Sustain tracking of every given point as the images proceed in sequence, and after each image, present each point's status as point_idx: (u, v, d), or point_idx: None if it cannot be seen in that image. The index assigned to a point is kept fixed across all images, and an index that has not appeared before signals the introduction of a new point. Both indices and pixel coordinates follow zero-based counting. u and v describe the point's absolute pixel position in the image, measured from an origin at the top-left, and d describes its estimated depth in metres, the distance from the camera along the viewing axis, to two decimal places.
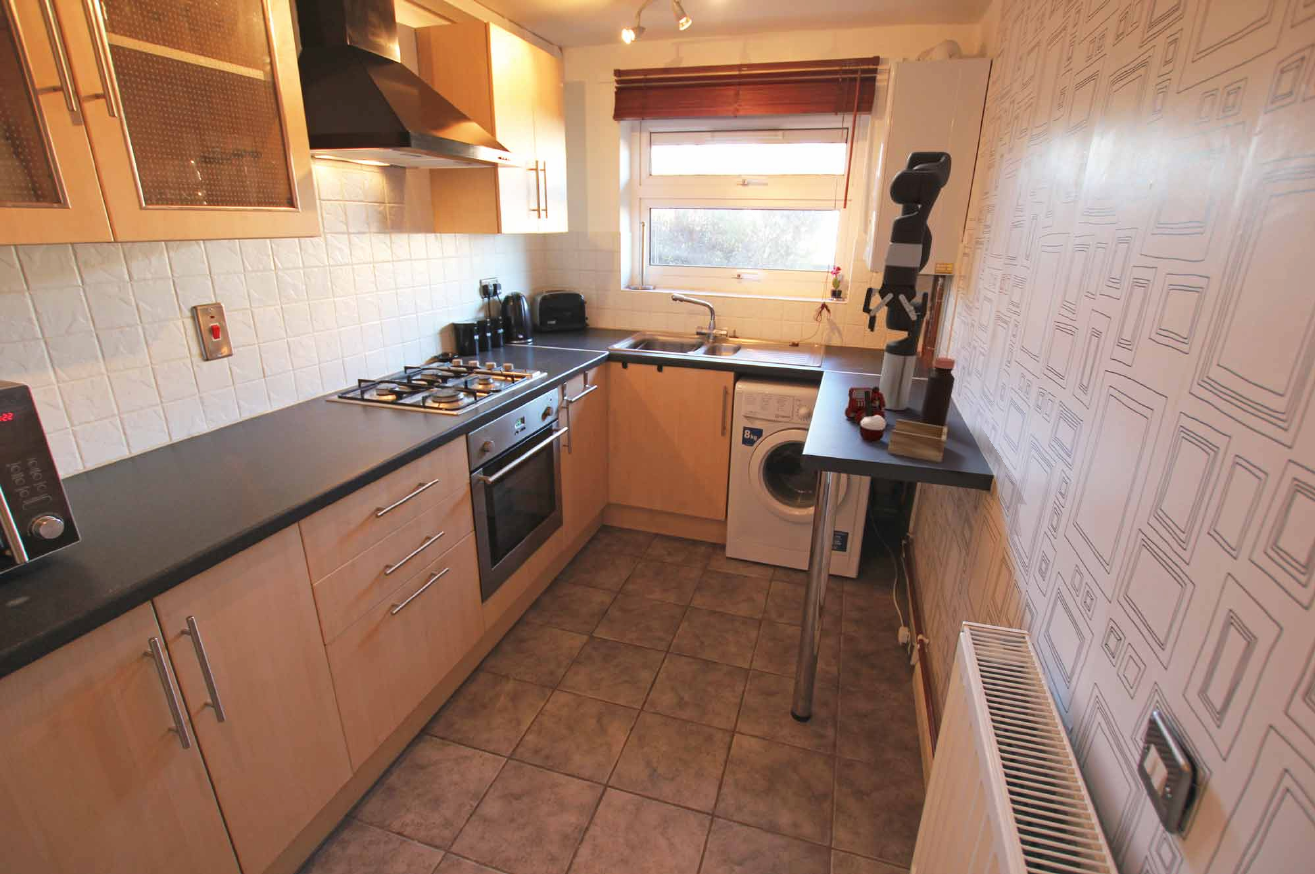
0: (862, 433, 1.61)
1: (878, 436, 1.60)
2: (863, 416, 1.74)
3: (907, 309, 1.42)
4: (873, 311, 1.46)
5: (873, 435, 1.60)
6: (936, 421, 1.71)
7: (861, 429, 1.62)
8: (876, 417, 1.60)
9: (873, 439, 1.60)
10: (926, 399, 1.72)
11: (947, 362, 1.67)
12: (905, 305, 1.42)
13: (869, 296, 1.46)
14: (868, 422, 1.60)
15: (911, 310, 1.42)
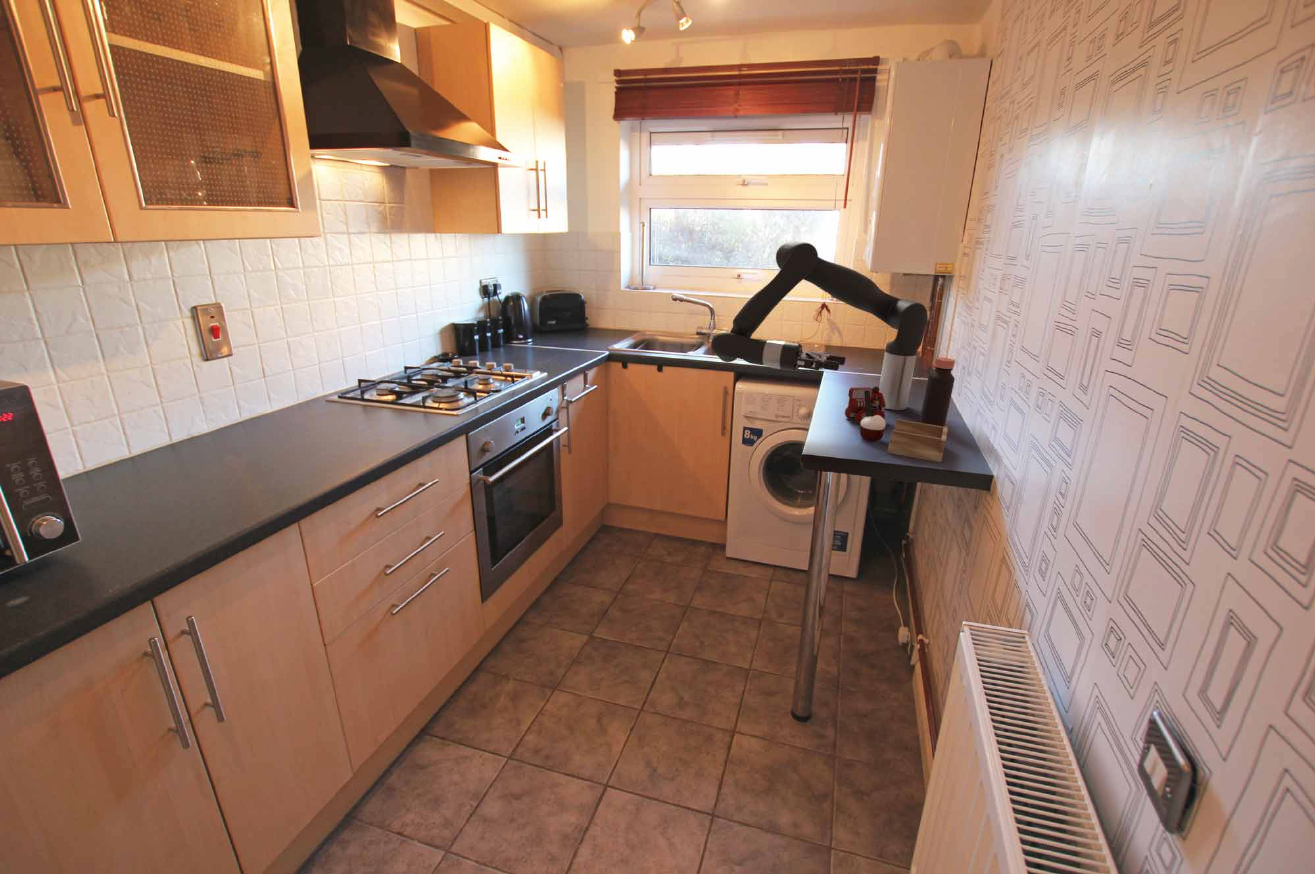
0: (862, 433, 1.61)
1: (878, 436, 1.60)
2: (863, 416, 1.74)
3: None
4: None
5: (873, 435, 1.60)
6: (936, 421, 1.71)
7: (861, 429, 1.62)
8: (876, 417, 1.60)
9: (873, 439, 1.60)
10: (926, 399, 1.72)
11: (947, 362, 1.67)
12: None
13: None
14: (868, 422, 1.60)
15: None
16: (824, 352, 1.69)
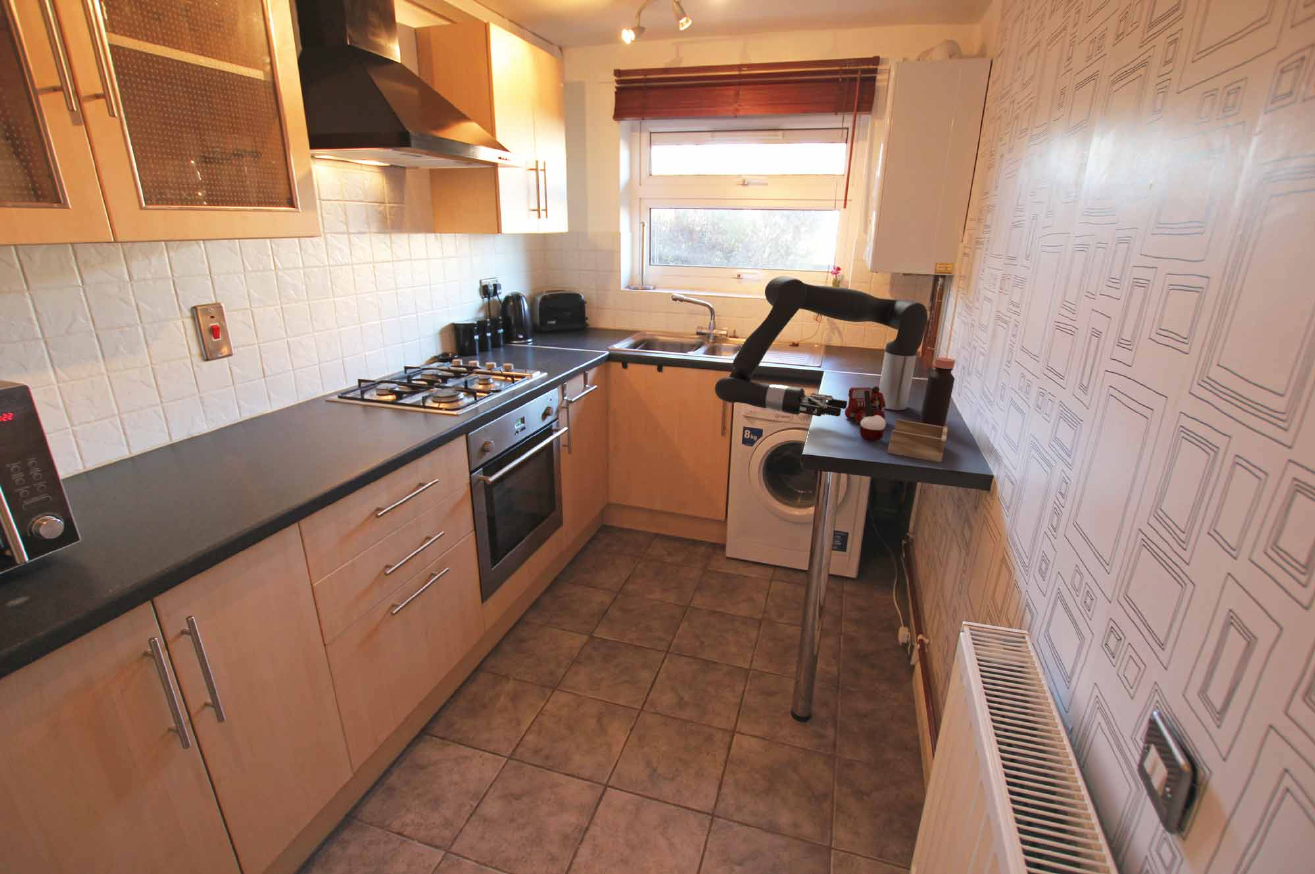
0: (862, 433, 1.61)
1: (878, 436, 1.60)
2: (863, 416, 1.74)
3: None
4: None
5: (873, 435, 1.60)
6: (936, 421, 1.71)
7: (861, 429, 1.62)
8: (876, 417, 1.60)
9: (873, 439, 1.60)
10: (926, 399, 1.72)
11: (947, 362, 1.67)
12: None
13: None
14: (868, 422, 1.60)
15: (817, 413, 1.64)
16: (826, 395, 1.72)
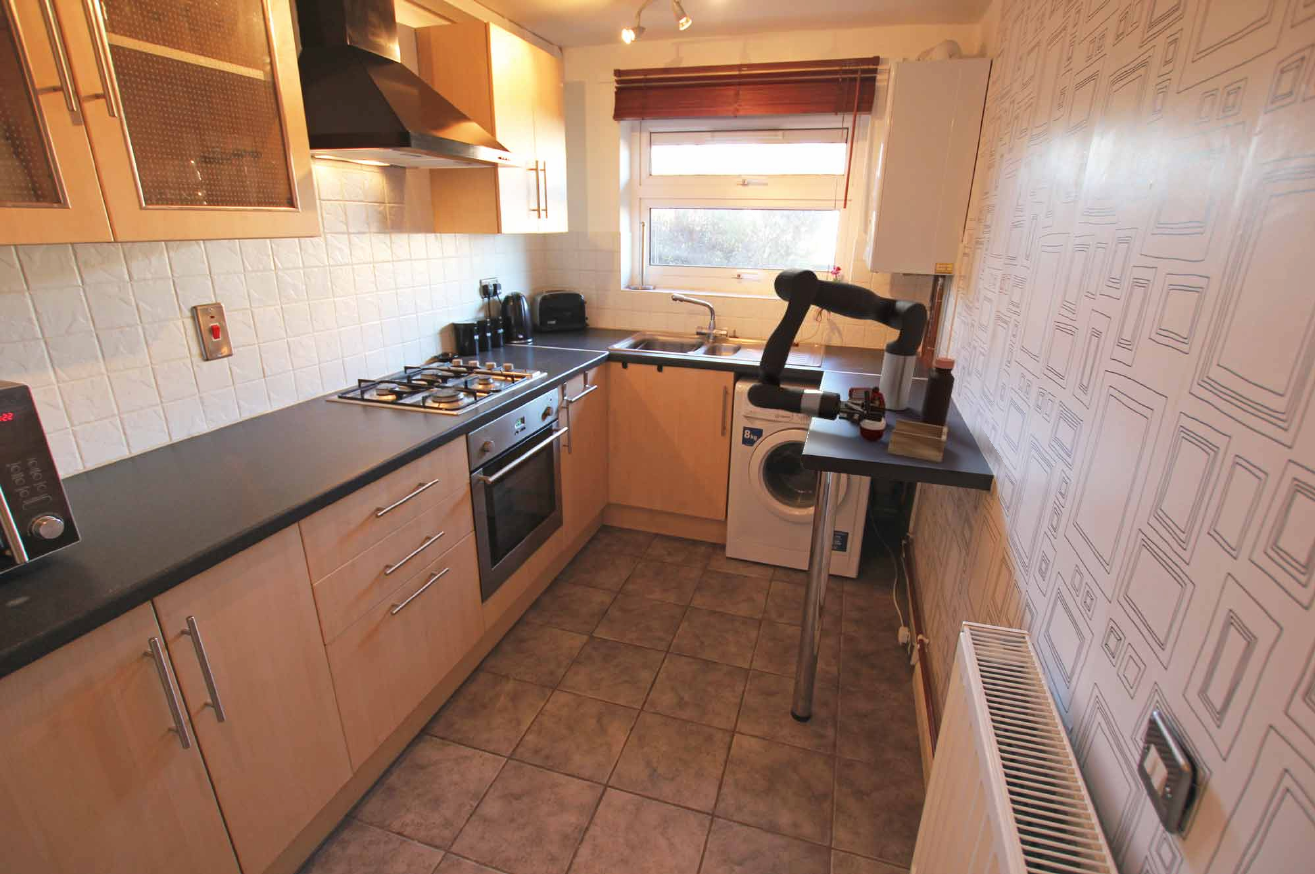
0: (862, 433, 1.61)
1: (878, 436, 1.60)
2: None
3: None
4: None
5: (872, 435, 1.60)
6: (936, 421, 1.71)
7: (861, 429, 1.62)
8: None
9: (873, 439, 1.60)
10: (926, 399, 1.72)
11: (947, 362, 1.67)
12: None
13: None
14: (868, 422, 1.60)
15: (856, 419, 1.60)
16: (863, 401, 1.67)
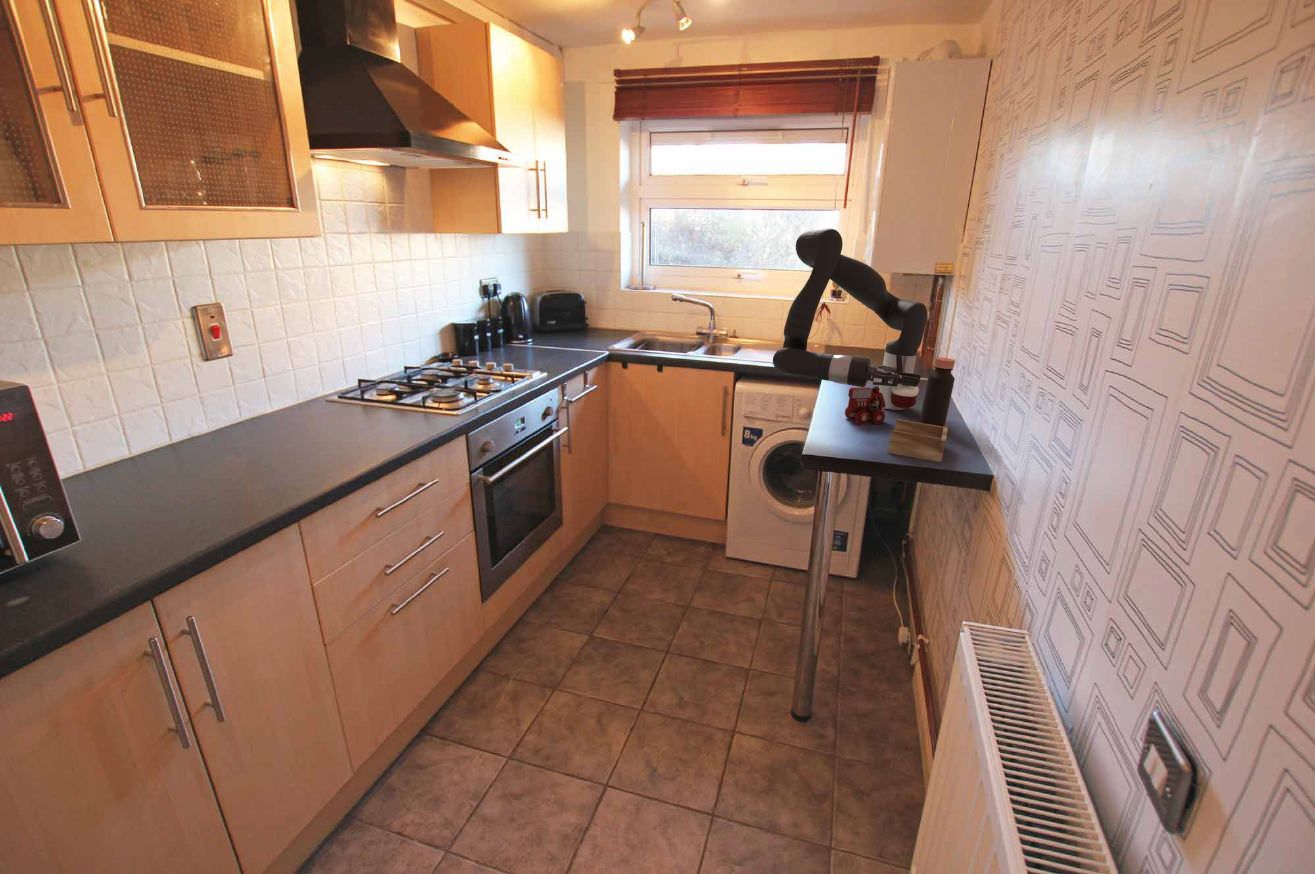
0: (893, 400, 1.54)
1: (910, 403, 1.53)
2: (863, 416, 1.74)
3: None
4: None
5: (905, 402, 1.52)
6: (936, 421, 1.71)
7: (892, 396, 1.54)
8: None
9: (905, 406, 1.53)
10: (926, 399, 1.72)
11: (947, 362, 1.67)
12: None
13: None
14: (900, 388, 1.52)
15: None
16: (896, 369, 1.59)
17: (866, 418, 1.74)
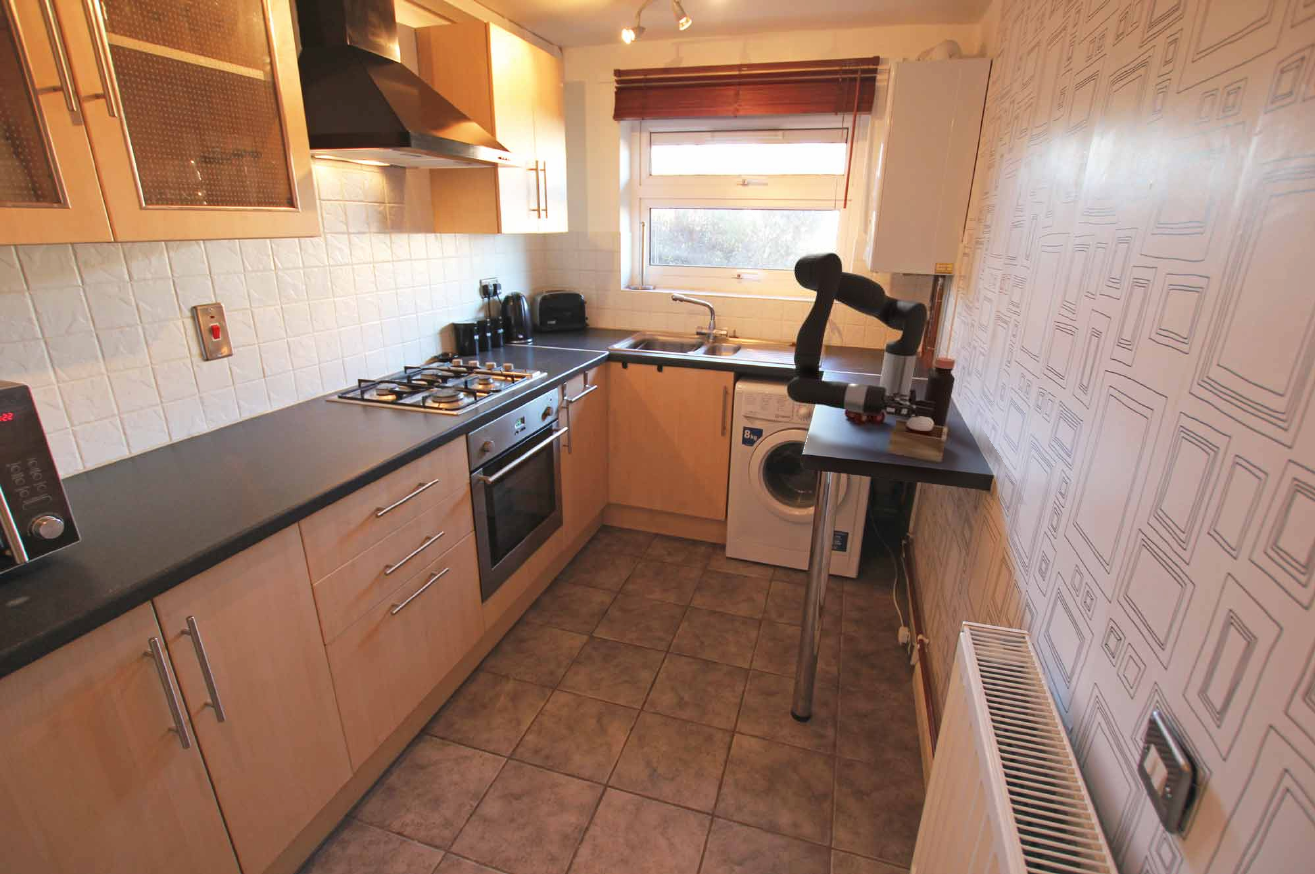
0: None
1: None
2: (863, 416, 1.74)
3: None
4: None
5: None
6: (936, 421, 1.71)
7: (907, 430, 1.54)
8: (924, 417, 1.53)
9: None
10: (926, 399, 1.72)
11: (947, 362, 1.67)
12: None
13: None
14: (915, 422, 1.53)
15: (904, 414, 1.52)
16: None
17: (866, 418, 1.74)
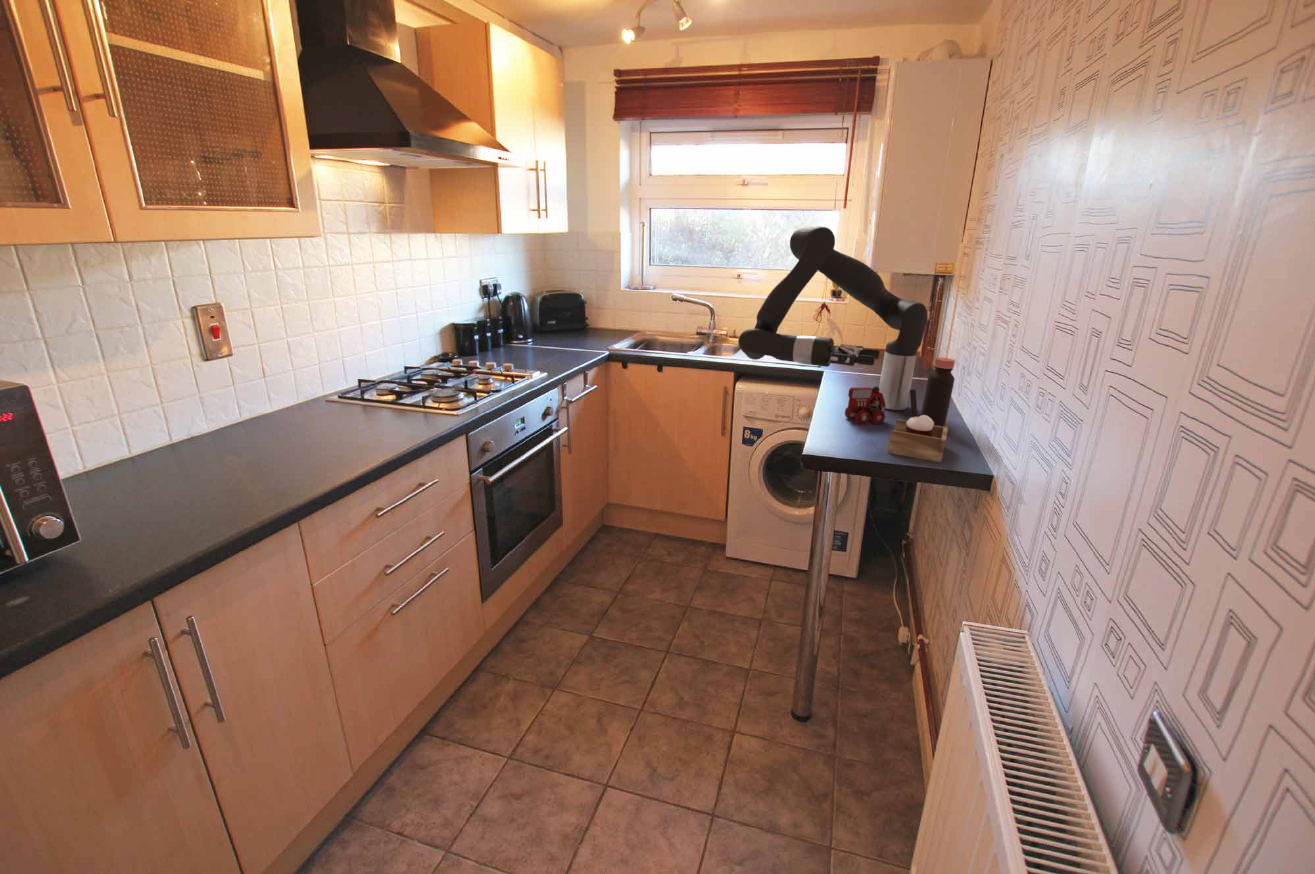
0: None
1: None
2: (863, 416, 1.74)
3: None
4: None
5: None
6: (936, 421, 1.71)
7: (907, 430, 1.54)
8: (924, 417, 1.53)
9: None
10: (926, 399, 1.72)
11: (947, 362, 1.67)
12: None
13: None
14: (915, 422, 1.53)
15: None
16: (856, 346, 1.63)
17: (866, 418, 1.74)
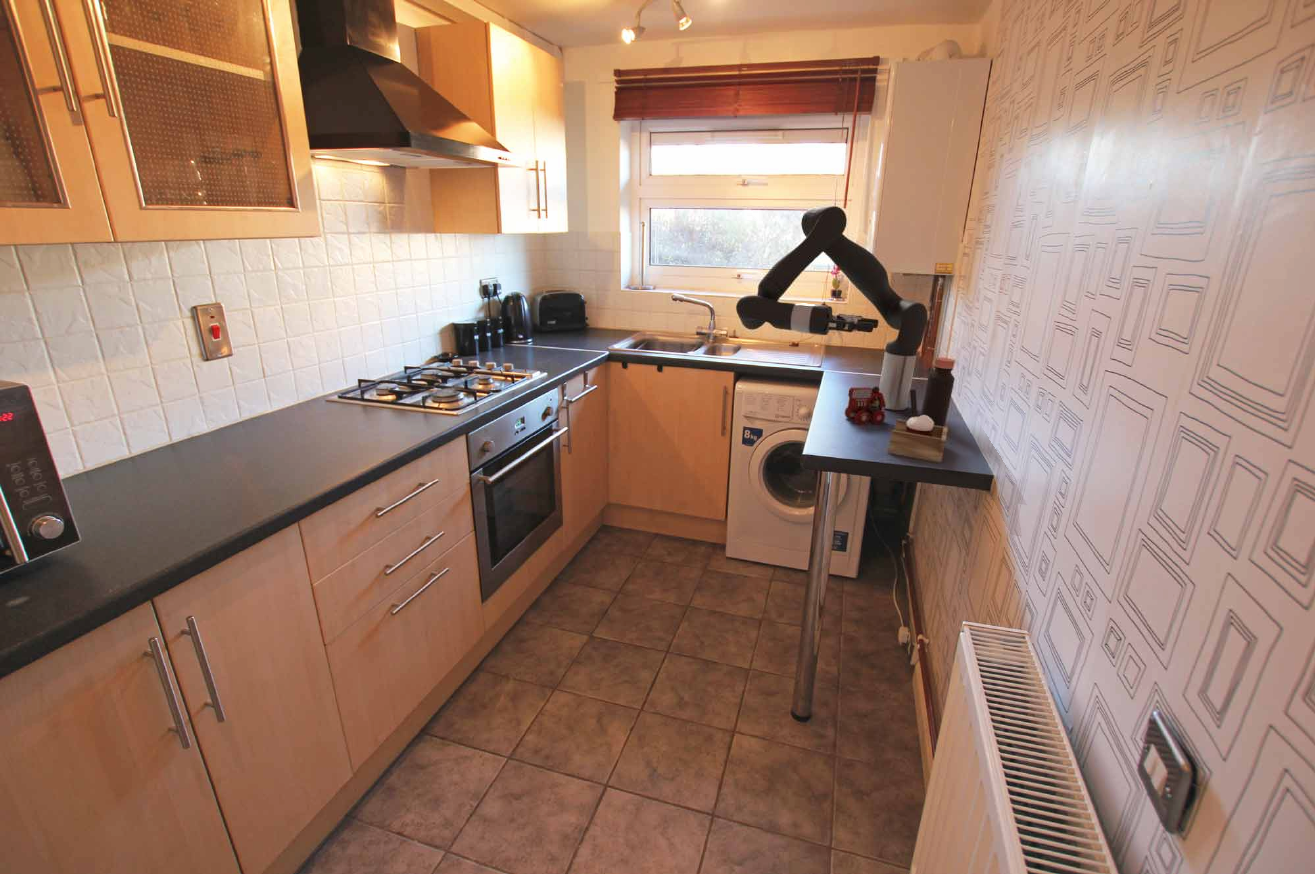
0: None
1: None
2: (863, 416, 1.74)
3: None
4: None
5: None
6: (936, 421, 1.71)
7: (907, 430, 1.54)
8: (924, 417, 1.53)
9: None
10: (926, 399, 1.72)
11: (947, 362, 1.67)
12: None
13: None
14: (915, 422, 1.53)
15: None
16: None
17: (866, 418, 1.74)
